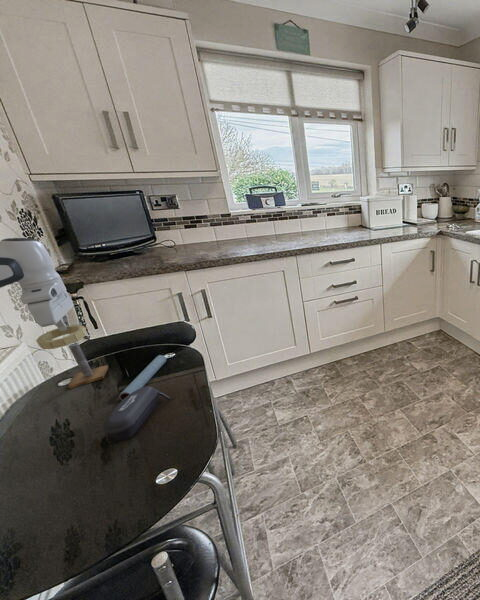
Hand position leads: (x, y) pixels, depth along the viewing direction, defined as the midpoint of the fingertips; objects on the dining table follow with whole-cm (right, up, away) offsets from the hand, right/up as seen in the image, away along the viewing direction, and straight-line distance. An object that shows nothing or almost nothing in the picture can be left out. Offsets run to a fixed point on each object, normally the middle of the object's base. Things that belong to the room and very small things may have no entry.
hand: (65, 329), depth 106 cm
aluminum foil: (+23, -18, +3) cm, 29 cm away
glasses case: (+38, -24, -17) cm, 48 cm away
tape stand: (+1, -18, +7) cm, 19 cm away
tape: (+3, -3, -3) cm, 5 cm away
